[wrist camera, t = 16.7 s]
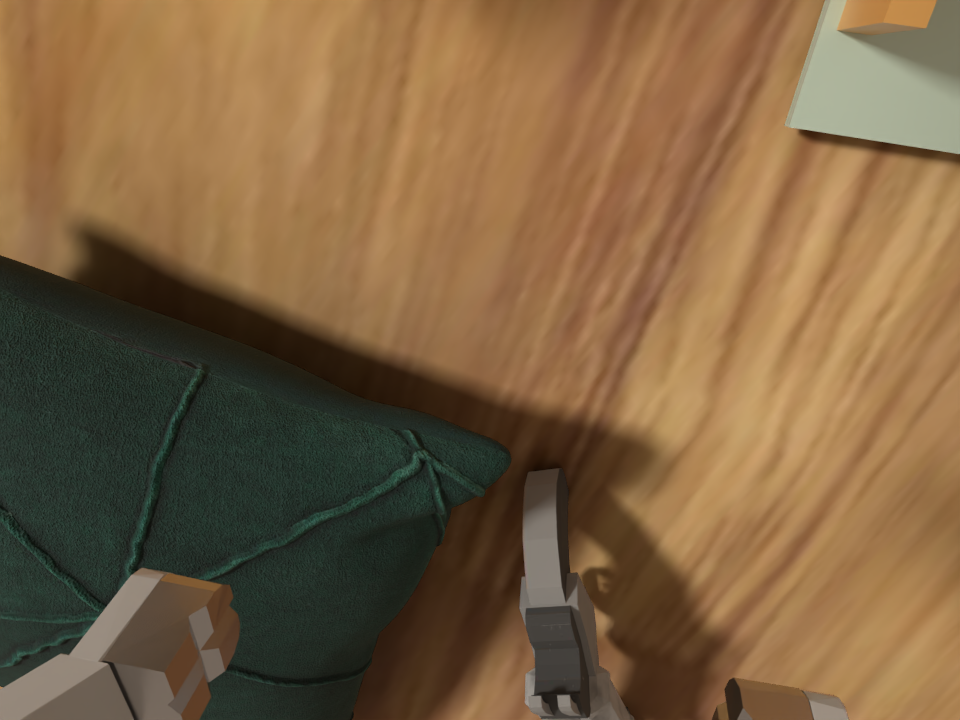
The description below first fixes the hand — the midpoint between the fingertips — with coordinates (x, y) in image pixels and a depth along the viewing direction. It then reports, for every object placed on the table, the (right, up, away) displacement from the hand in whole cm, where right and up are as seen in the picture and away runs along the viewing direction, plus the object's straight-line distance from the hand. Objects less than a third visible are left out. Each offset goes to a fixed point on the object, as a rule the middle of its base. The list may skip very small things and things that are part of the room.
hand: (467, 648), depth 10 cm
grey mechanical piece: (+9, -16, +41) cm, 45 cm away
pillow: (-23, -5, +43) cm, 49 cm away
